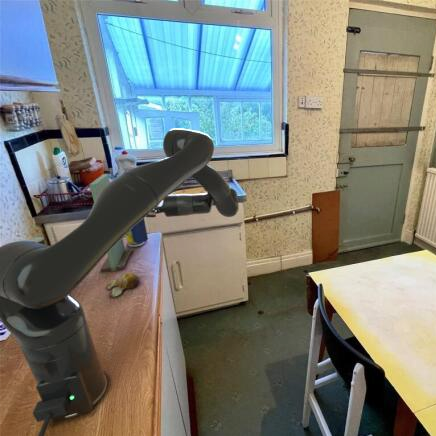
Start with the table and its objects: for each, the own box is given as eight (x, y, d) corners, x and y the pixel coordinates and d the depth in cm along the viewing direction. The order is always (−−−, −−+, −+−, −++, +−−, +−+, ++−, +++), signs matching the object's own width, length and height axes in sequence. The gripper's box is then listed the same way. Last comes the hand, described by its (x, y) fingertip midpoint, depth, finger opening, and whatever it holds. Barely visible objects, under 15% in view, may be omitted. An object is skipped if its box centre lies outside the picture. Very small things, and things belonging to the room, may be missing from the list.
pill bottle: (128, 241, 114) (122, 216, 110) (145, 238, 117) (140, 213, 113) (127, 248, 109) (121, 222, 105) (145, 245, 112) (140, 219, 107)
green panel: (144, 250, 108) (129, 173, 96) (137, 268, 97) (119, 183, 86) (112, 254, 105) (92, 174, 93) (101, 272, 95) (77, 184, 83)
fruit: (106, 284, 88) (104, 274, 87) (136, 275, 93) (133, 266, 92) (111, 298, 83) (109, 288, 81) (142, 288, 88) (140, 278, 86)
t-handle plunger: (136, 235, 103) (123, 175, 94) (150, 234, 104) (138, 174, 95) (130, 246, 96) (116, 181, 87) (145, 244, 97) (133, 180, 88)
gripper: (180, 188, 104) (128, 191, 99) (176, 201, 91) (116, 205, 87) (182, 208, 107) (132, 211, 102) (179, 223, 94) (121, 227, 90)
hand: (125, 208), depth 94 cm, fingers closed on t-handle plunger, 4 cm apart
